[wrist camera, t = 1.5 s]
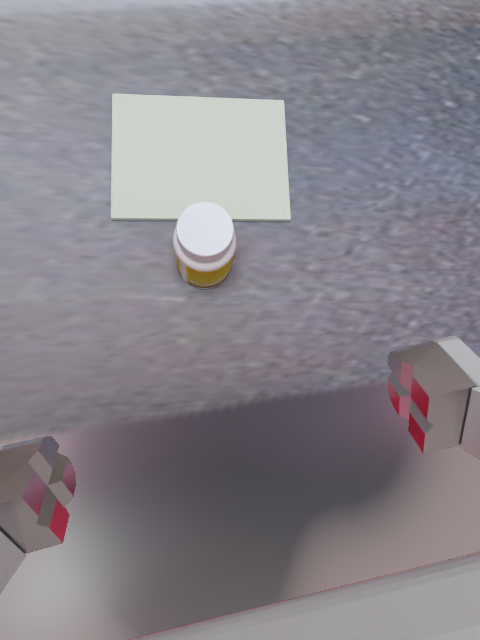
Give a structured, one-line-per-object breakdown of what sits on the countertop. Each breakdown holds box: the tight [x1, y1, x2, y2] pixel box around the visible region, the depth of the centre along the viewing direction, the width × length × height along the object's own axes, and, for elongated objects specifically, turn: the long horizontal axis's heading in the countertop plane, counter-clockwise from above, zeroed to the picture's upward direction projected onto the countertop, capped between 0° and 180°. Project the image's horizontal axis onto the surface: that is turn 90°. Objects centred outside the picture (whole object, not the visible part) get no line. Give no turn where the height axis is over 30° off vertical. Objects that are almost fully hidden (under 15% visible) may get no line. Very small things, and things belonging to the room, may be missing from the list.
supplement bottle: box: [173, 202, 236, 289], centre depth 31 cm, size 5×5×8 cm
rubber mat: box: [111, 94, 291, 222], centre depth 37 cm, size 16×12×1 cm
